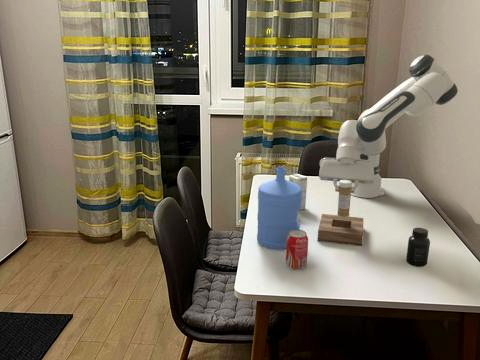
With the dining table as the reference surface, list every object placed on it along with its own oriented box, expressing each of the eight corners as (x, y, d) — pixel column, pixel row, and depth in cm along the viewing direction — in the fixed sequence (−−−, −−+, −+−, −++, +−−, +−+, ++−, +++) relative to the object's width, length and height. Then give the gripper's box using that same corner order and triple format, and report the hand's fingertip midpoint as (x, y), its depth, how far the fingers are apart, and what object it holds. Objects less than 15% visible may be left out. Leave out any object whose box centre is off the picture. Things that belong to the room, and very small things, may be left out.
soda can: (288, 259, 165) (290, 227, 161) (309, 263, 162) (311, 230, 158) (282, 268, 158) (284, 235, 155) (303, 273, 156) (305, 239, 152)
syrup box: (287, 207, 210) (288, 175, 206) (297, 204, 214) (298, 173, 209) (296, 211, 206) (297, 179, 201) (306, 208, 209) (307, 176, 205)
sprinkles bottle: (340, 212, 184) (342, 178, 180) (351, 215, 181) (354, 180, 177) (334, 215, 181) (337, 181, 177) (346, 218, 178) (348, 183, 174)
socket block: (321, 224, 193) (322, 213, 192) (362, 228, 189) (363, 217, 188) (317, 241, 178) (318, 229, 177) (361, 246, 175) (363, 234, 173)
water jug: (274, 255, 168) (276, 178, 159) (248, 238, 180) (249, 166, 171) (308, 244, 176) (312, 170, 167) (281, 229, 188) (284, 160, 179)
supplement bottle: (430, 262, 163) (435, 230, 159) (421, 269, 159) (426, 236, 155) (411, 256, 168) (415, 224, 164) (401, 262, 163) (406, 230, 160)
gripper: (320, 153, 184) (316, 185, 178) (375, 156, 179) (373, 190, 173) (320, 161, 189) (316, 192, 183) (374, 165, 185) (372, 197, 179)
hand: (344, 191), depth 178 cm, fingers closed on sprinkles bottle, 4 cm apart
